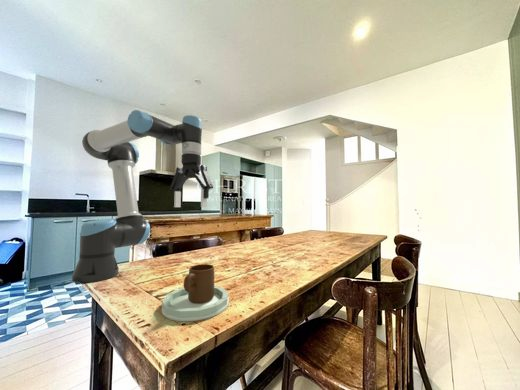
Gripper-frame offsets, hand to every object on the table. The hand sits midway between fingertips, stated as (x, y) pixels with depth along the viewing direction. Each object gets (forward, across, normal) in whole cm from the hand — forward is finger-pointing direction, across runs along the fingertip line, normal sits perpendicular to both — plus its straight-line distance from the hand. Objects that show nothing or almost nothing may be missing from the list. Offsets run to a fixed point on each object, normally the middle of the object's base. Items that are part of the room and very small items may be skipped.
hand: (190, 207), depth 85 cm
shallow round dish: (+29, +17, -15) cm, 37 cm away
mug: (+28, +17, -15) cm, 36 cm away
